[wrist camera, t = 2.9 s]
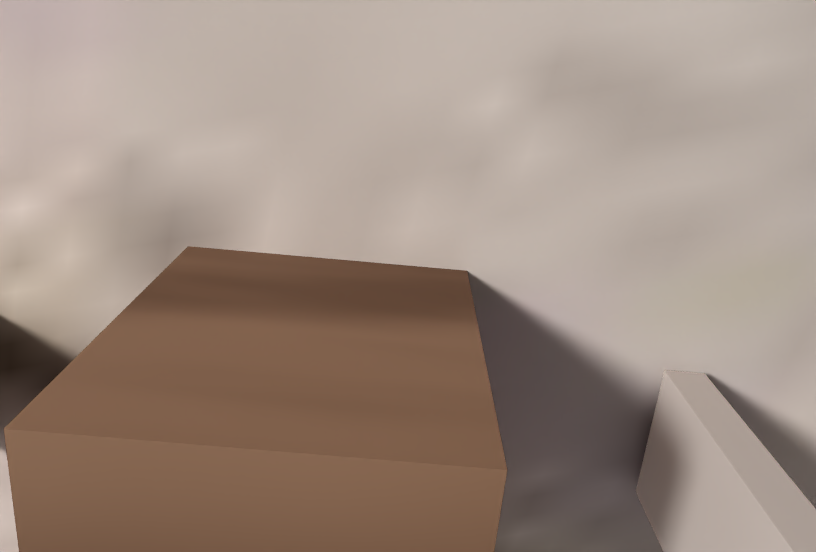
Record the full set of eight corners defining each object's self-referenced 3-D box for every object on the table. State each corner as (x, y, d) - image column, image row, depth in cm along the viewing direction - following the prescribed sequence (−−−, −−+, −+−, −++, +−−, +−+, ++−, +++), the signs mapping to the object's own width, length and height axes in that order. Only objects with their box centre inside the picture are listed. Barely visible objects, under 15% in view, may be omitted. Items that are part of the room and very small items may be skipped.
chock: (188, 245, 13) (3, 429, 7) (466, 269, 13) (507, 470, 7) (193, 499, 14) (51, 806, 9) (436, 519, 15) (447, 835, 9)
